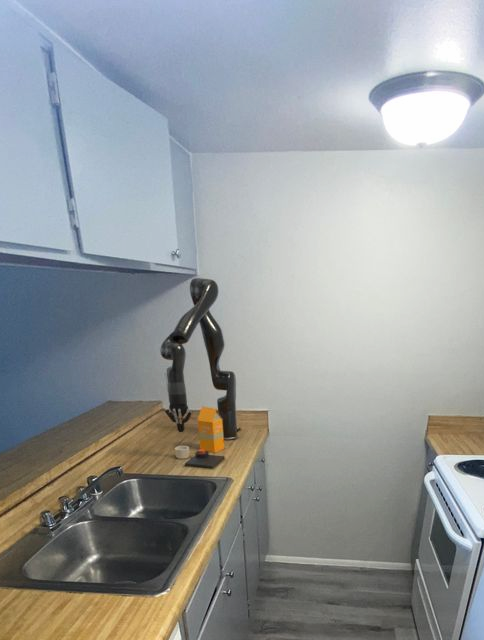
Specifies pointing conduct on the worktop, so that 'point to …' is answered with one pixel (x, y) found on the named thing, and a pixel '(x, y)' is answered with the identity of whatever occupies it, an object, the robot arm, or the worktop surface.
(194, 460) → the scale
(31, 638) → the worktop surface
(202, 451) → the tare button
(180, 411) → the robot arm
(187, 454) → the bowl
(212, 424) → the orange juice
